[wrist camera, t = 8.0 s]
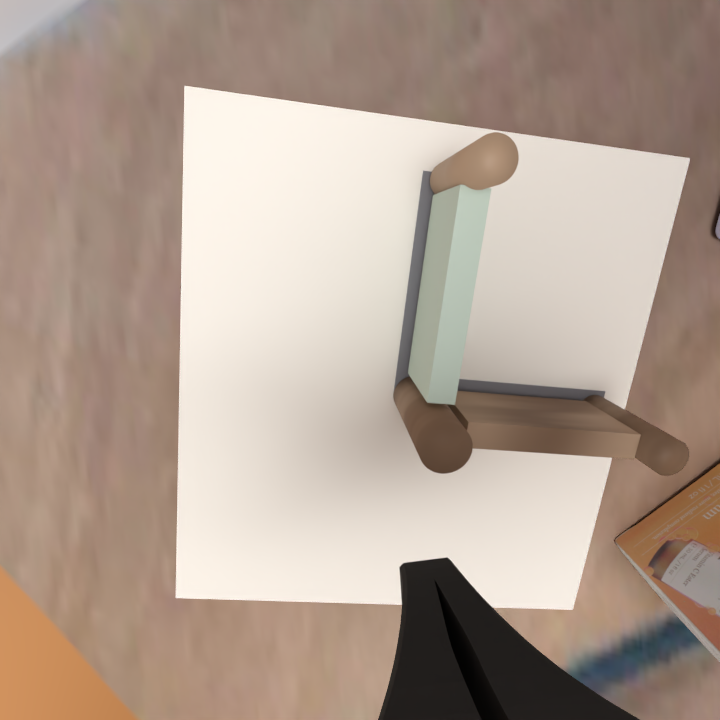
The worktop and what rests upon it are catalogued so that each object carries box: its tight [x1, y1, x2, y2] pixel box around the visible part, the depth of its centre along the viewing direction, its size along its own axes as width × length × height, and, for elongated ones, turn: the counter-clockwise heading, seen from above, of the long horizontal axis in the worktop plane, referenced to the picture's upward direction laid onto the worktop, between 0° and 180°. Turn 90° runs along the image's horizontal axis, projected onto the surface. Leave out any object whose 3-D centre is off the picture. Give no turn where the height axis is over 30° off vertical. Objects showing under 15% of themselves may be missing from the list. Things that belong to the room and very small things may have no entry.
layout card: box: [176, 86, 690, 610], centre depth 21 cm, size 20×22×1 cm
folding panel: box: [408, 132, 519, 405], centre depth 17 cm, size 8×1×5 cm, turn 174°
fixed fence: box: [393, 376, 689, 476], centre depth 18 cm, size 10×2×6 cm, turn 84°
